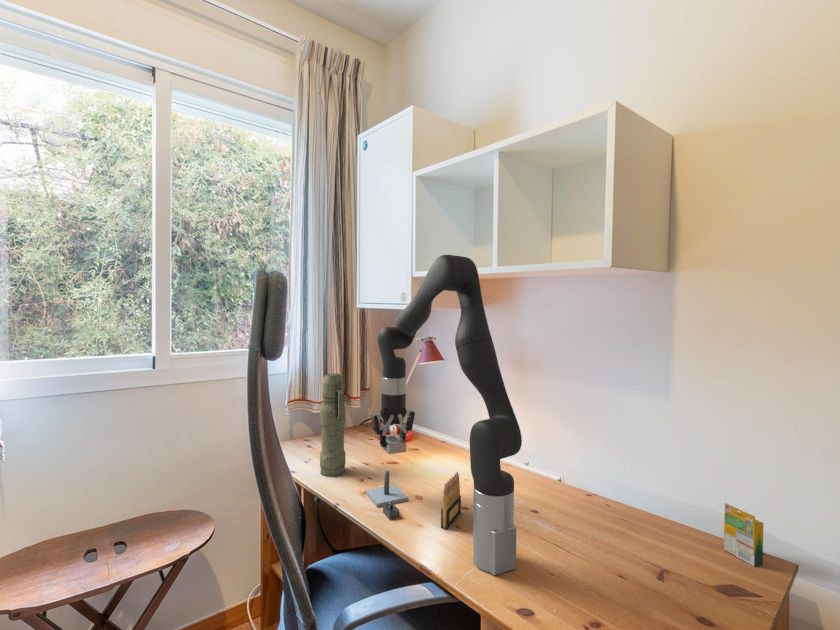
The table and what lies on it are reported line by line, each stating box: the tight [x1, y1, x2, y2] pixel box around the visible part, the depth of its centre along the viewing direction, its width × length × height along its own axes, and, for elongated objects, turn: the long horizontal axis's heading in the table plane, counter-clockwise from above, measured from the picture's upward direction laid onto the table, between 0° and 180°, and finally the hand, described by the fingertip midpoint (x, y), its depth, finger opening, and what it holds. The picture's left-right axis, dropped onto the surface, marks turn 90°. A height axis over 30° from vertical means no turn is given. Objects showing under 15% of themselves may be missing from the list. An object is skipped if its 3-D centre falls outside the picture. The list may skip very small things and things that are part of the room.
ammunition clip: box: [440, 471, 462, 530], centre depth 118 cm, size 11×2×12 cm, turn 154°
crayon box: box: [723, 502, 764, 567], centre depth 101 cm, size 7×3×12 cm, turn 17°
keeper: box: [365, 470, 409, 508], centre depth 132 cm, size 10×10×8 cm
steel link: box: [379, 434, 407, 455], centre depth 131 cm, size 8×6×3 cm
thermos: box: [319, 373, 346, 478], centre depth 151 cm, size 9×12×35 cm
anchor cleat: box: [382, 501, 400, 520], centre depth 120 cm, size 5×3×4 cm, turn 26°
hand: (392, 445), depth 131 cm, fingers closed on steel link, 5 cm apart
